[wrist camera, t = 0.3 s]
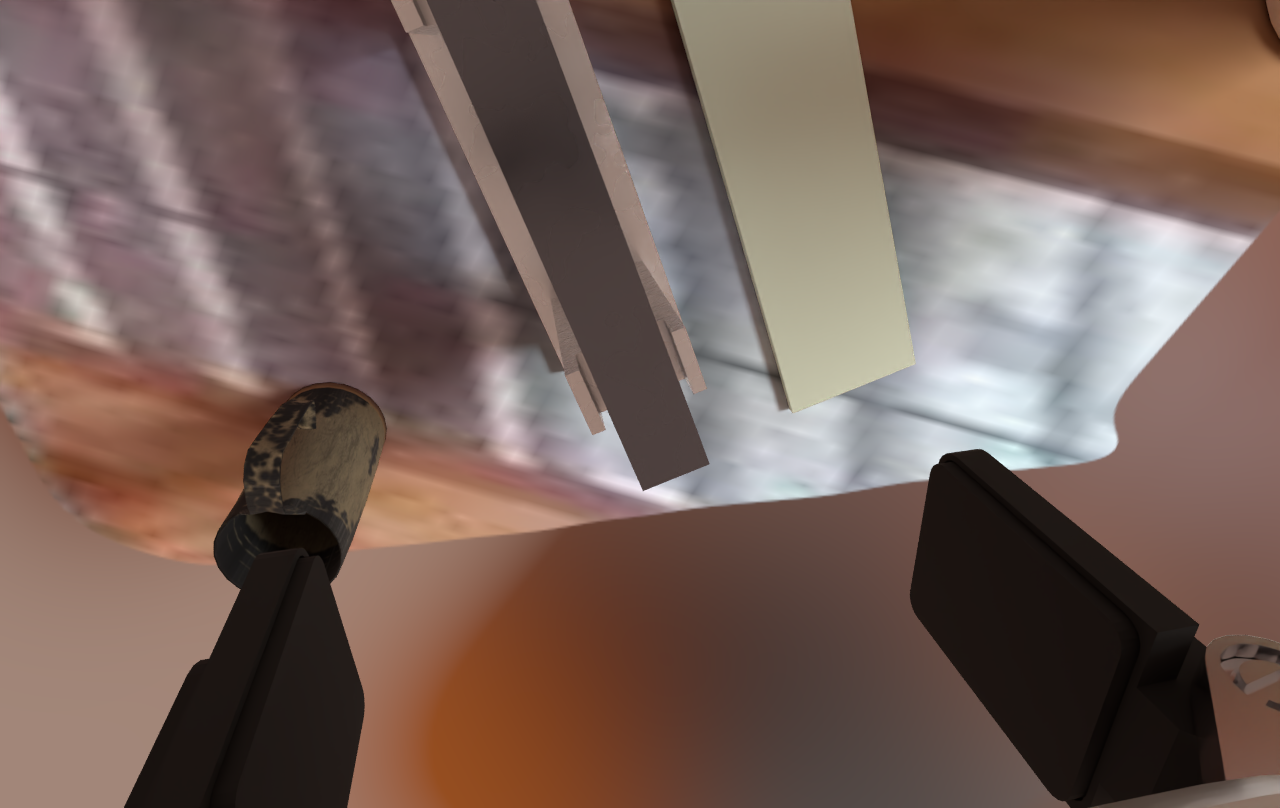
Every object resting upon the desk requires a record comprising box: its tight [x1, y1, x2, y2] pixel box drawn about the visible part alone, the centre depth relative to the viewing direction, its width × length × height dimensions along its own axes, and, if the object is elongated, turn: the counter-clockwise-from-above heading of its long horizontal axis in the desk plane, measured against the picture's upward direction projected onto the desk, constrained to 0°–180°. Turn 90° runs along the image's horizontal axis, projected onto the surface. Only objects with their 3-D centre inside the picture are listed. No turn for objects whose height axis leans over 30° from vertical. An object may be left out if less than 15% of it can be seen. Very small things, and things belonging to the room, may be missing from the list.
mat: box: [671, 0, 916, 413], centre depth 37 cm, size 8×26×1 cm, turn 20°
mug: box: [214, 382, 387, 589], centre depth 34 cm, size 8×6×12 cm
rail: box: [426, 0, 709, 491], centre depth 26 cm, size 3×24×3 cm, turn 20°
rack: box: [391, 0, 707, 435], centre depth 30 cm, size 7×22×11 cm, turn 20°
